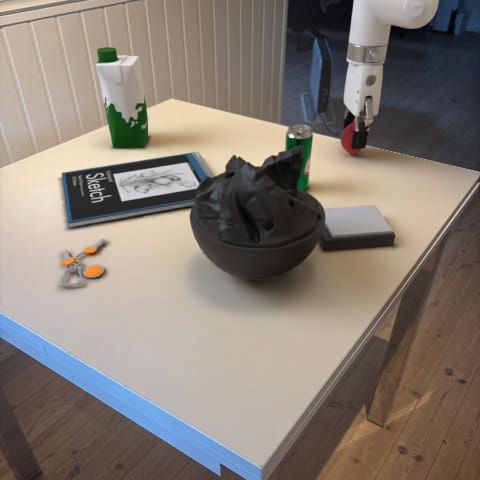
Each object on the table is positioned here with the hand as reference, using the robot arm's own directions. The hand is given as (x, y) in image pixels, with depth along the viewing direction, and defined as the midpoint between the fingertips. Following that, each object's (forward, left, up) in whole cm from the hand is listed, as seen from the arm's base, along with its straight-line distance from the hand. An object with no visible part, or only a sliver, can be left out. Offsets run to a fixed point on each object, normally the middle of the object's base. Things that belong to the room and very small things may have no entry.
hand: (353, 141), depth 108 cm
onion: (0, 0, -3) cm, 3 cm away
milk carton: (+50, -15, -3) cm, 52 cm away
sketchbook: (+47, +10, -3) cm, 48 cm away
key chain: (+56, +35, -3) cm, 66 cm away
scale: (+10, +32, -3) cm, 34 cm away
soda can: (+16, +14, -3) cm, 21 cm away
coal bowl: (+28, +40, -3) cm, 49 cm away
